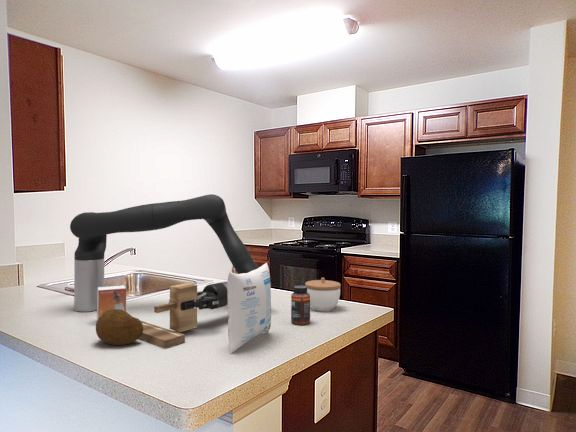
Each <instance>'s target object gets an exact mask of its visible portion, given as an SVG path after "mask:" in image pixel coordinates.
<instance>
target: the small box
mask: <svg viewBox="0 0 576 432" xmlns="http://www.w3.org/2000/svg"><path fill="white" fill-rule="evenodd" d="M112 309H120V310H123V311H125V312H127V288H126V285H124V284H123V285H113V286H111V285H110V286H104V287H98V289H97V310H96V322H97V321H98V319H99V317H100V316H101V315H102V314H103V313H104V312H105V311H108V310H112Z"/></svg>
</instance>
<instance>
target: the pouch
mask: <svg viewBox="0 0 576 432" xmlns="http://www.w3.org/2000/svg"><path fill="white" fill-rule="evenodd" d="M270 281H271V274H270V268H269V265H268V262H265V263H263V264H262V265H261V266H259V268H258V269H256V270H253V271H250V272H248V273H242V274H235V273H232V271H229V272H228V276H227V282H228V306H227V312H228V313H227V327H228V328H227V329H228V332H227V333H228V346H229V352H230V354H233V353H234V352H235V351H236V350H238V349H240V347H242V346H243V345H244V344H246V343H247V342H249V341H250V340H251V339H253V338H254V337H256V336H258V335H261V334H263V333H269V331H270V330H271V326H272V325H271V324H272V291H271V290H272V289H271V288H272V284H271V285H270Z"/></svg>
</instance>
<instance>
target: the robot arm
mask: <svg viewBox="0 0 576 432" xmlns="http://www.w3.org/2000/svg"><path fill="white" fill-rule="evenodd" d="M197 220H204V221H205V222H206V223H207V225H209V227H211V229H212V231H213V232H214V233H215V235H216V236H217V238H218V240H219V241H220V244H221V245H222V247H223V249H224V251H225V254H226V256H227V258H228V260H229V261H230V263H231V265H232V266H233V267H234V270H236V272H237V273H238V274H242V273H248V272H250V271H253V270H256V269H258V268H259V267H260V266H259V265H258V264H257V263H256V261H254V258H252V256H251V254H250V252H249V250H248V249H247V247H246V245H245V243H243V241H242V239H241V238H240V237H239V235H238V234H237V232H236V231H235V229H234V227H233V226H232V223H231V221H230V219H229V215H228V212H227V208H226V204H225V201H224V199H223V198H222V197H221V196H219V195H217V194H212V193H210V194H206V195H200V196H196V197H193V198H188V199H183V200H173V201H164V202H155V203H148V204H141V205H135V206H132V207H131V206H130V207H127V208H123V209H118V210H114V211H103V212H93V211H91V212H90V211H88V212H82V213H79V214H77V215H76V216H74V217H73V219H72V220H71V222H70V225H69V229H70V232H71V233H72V234H73V236H75V237H76V238H78V243H77V248H76V249H75V251H74V253H73V254H74V266H73V267H74V271H73V272H74V282H73V283H74V286H73V287H74V288H73V289H74V290H73V292H74V294H73V295H74V298H73V300H74V301H73V304H74V305H73V306H74V307H73V308H74V311H76V312H80V313H82V312H85V313H86V312H95V311H97V289H98V287H105V252H106V250H107V239H108V238H107V236H108V235H111V234H117V233H119V234H121V233H140V232H151V231H158V230H162V229H166V228H170V227H173V226H175V225H177V224H180V223H182V222H187V221H197ZM270 285H271V286H272V283H271V280H270ZM168 303H170V299H169V300H168ZM224 307H228V281H220V282H216V283H212V284H211V283H209V284H207V285H206V286H204V287H203V289H202V291H201V290H197V299H193V300H189V301H185V302H181V310H187V309H191V308H193V309H196V308H197V309H198V310H205V309H208V310H216V309H219V308H224Z"/></svg>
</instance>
